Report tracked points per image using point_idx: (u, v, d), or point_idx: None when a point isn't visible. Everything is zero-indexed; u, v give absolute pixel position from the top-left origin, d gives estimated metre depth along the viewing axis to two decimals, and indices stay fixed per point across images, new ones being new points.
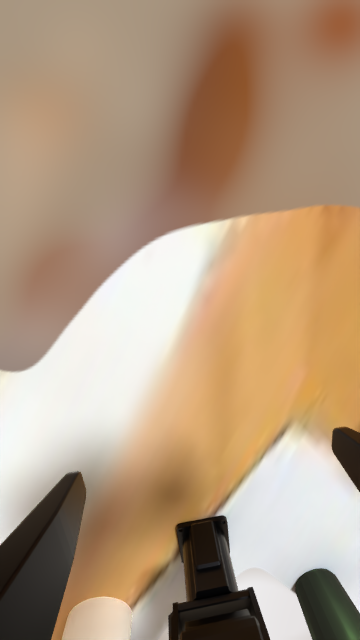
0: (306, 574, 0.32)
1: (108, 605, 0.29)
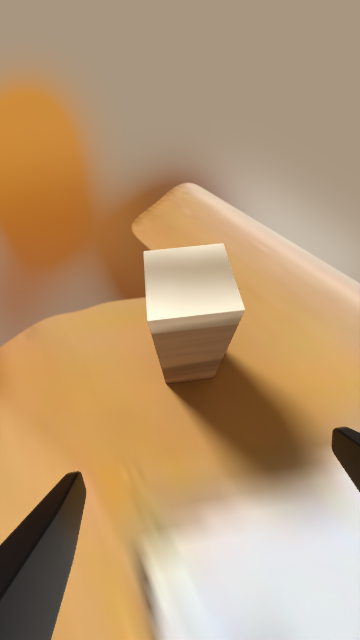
0: None
1: None
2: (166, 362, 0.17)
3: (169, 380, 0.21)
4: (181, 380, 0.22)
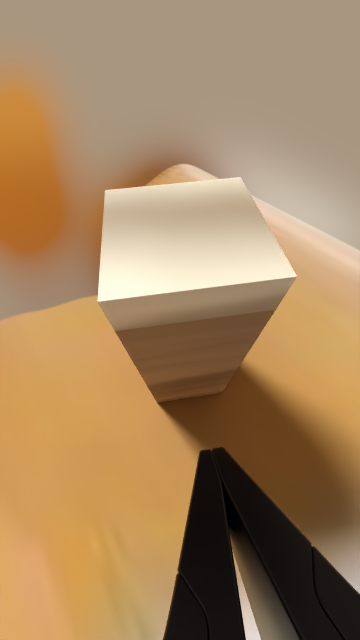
0: None
1: None
2: (153, 377, 0.11)
3: (161, 399, 0.15)
4: (177, 398, 0.16)
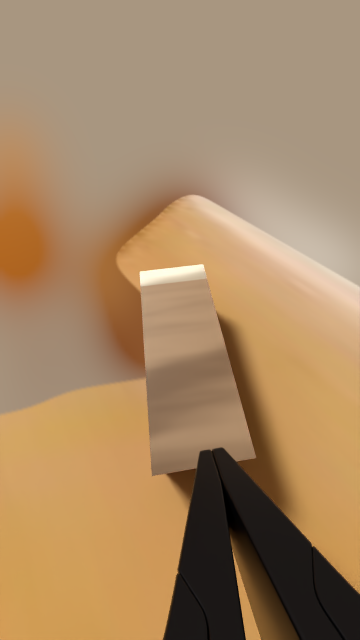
0: None
1: None
2: (152, 348, 0.13)
3: (158, 446, 0.11)
4: (184, 456, 0.10)
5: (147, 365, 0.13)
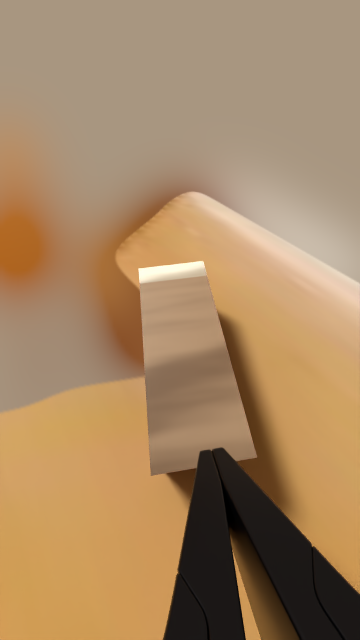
0: None
1: None
2: (151, 346, 0.13)
3: (157, 445, 0.10)
4: (183, 455, 0.10)
5: (146, 363, 0.13)
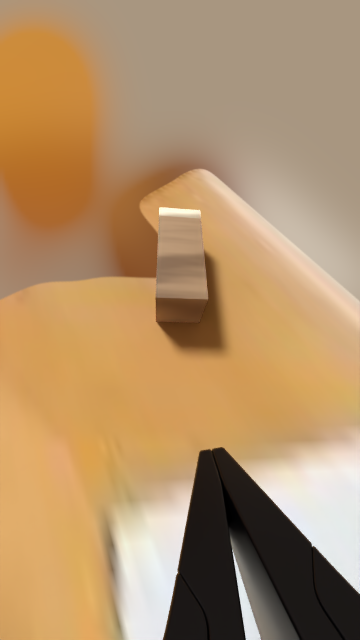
0: None
1: None
2: (162, 247, 0.23)
3: (160, 287, 0.21)
4: (172, 293, 0.21)
5: (158, 254, 0.23)
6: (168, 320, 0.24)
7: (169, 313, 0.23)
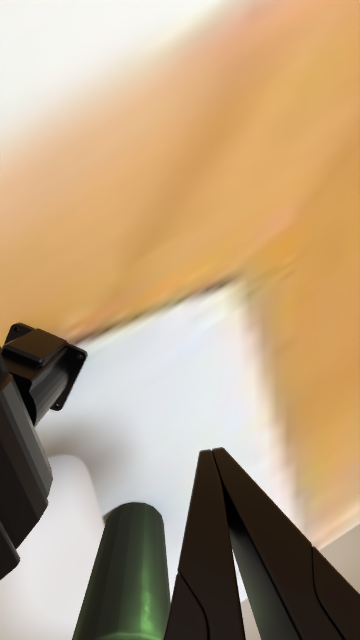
0: (133, 503, 0.24)
1: None
2: None
3: None
4: None
5: None
6: None
7: None
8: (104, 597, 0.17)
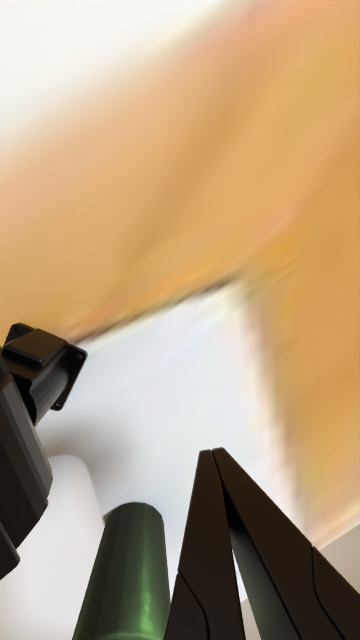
0: (133, 503, 0.24)
1: None
2: None
3: None
4: None
5: None
6: None
7: None
8: (104, 597, 0.17)
